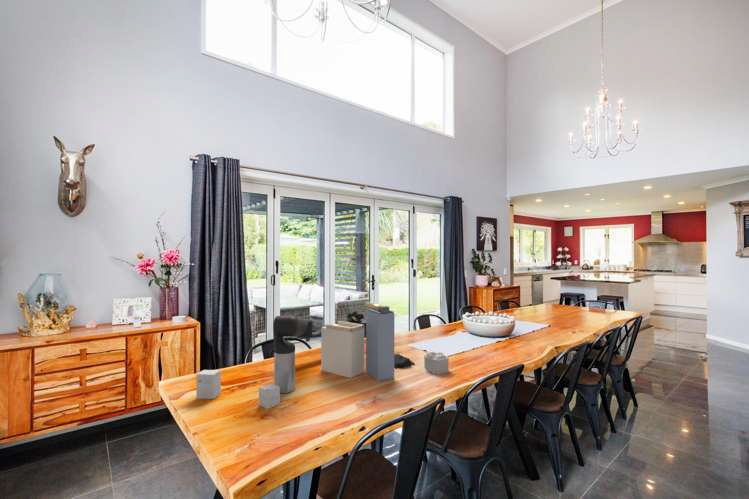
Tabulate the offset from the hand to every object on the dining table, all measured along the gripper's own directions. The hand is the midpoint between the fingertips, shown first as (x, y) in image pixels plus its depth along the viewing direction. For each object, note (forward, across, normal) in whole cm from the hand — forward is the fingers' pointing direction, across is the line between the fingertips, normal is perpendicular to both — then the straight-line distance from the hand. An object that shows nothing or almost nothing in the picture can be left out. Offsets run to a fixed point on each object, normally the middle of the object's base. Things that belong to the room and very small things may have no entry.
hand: (363, 311), depth 197 cm
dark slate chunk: (-10, +17, +28) cm, 35 cm away
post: (+3, 0, +35) cm, 36 cm away
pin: (+14, 0, +5) cm, 15 cm away
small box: (-3, -78, +32) cm, 85 cm away
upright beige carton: (-8, -15, +28) cm, 33 cm away
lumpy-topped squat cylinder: (+7, +31, +38) cm, 49 cm away
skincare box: (+14, -56, +42) cm, 71 cm away
